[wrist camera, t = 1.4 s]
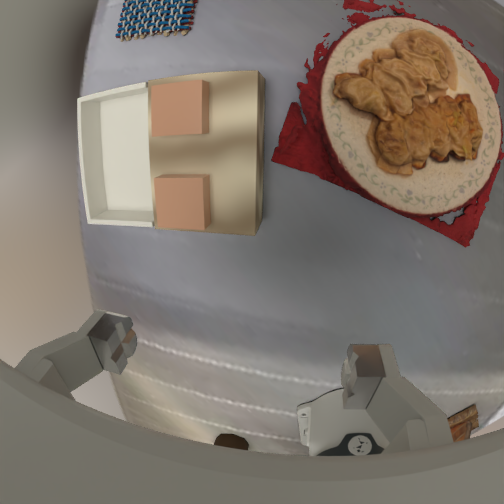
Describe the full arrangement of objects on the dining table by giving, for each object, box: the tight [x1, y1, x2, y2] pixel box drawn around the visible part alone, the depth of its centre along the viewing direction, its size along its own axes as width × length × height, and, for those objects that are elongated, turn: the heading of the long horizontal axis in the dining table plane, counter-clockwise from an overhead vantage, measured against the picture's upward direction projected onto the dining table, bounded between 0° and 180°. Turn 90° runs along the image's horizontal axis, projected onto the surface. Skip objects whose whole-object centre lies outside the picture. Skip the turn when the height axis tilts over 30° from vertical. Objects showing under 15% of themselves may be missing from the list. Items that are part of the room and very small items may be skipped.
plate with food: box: [271, 0, 504, 247], centre depth 23 cm, size 25×26×4 cm
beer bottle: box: [214, 434, 248, 450], centre depth 45 cm, size 8×8×24 cm
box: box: [78, 82, 155, 227], centre depth 30 cm, size 16×10×4 cm, turn 179°
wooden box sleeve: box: [148, 70, 265, 236], centre depth 28 cm, size 16×11×5 cm
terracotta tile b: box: [151, 80, 209, 137], centre depth 24 cm, size 5×5×2 cm
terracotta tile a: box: [154, 174, 211, 230], centre depth 27 cm, size 5×5×2 cm
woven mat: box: [116, 0, 198, 42], centre depth 23 cm, size 10×11×2 cm
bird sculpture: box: [447, 405, 479, 442], centre depth 30 cm, size 11×12×32 cm
